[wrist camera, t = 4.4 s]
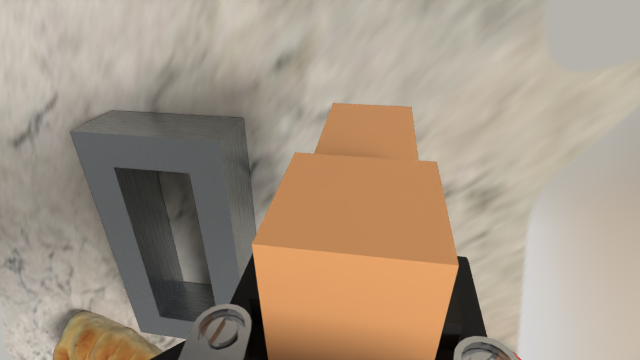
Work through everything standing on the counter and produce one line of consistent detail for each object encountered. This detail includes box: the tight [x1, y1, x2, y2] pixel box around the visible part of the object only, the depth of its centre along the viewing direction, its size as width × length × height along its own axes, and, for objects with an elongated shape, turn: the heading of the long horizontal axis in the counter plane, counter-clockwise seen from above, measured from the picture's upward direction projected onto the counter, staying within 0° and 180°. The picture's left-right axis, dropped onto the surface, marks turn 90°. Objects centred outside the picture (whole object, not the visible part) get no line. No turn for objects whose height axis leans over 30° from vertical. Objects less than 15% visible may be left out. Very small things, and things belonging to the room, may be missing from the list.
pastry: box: [53, 311, 162, 360], centre depth 34 cm, size 9×7×4 cm
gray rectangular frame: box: [70, 110, 256, 339], centre depth 25 cm, size 16×8×4 cm, turn 0°
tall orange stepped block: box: [252, 103, 459, 360], centre depth 11 cm, size 8×3×8 cm, turn 0°
